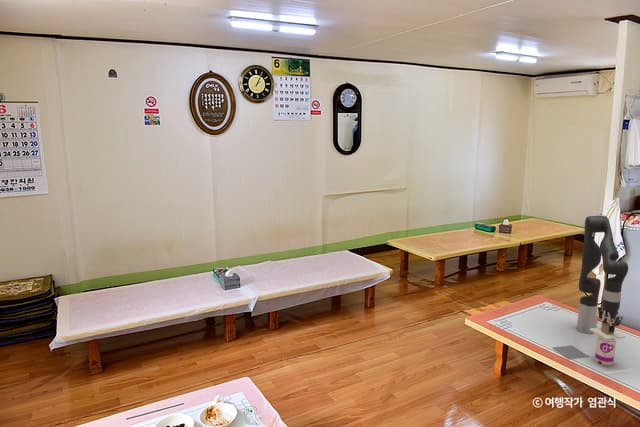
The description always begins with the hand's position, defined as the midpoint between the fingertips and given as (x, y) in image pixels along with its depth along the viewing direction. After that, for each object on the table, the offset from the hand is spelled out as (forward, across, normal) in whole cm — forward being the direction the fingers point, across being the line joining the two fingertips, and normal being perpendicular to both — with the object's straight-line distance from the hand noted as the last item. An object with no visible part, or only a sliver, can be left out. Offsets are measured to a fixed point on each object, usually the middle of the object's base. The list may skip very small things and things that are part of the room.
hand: (607, 330), depth 229 cm
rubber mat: (+19, +12, +10) cm, 24 cm away
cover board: (+2, 0, 0) cm, 2 cm away
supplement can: (+19, 0, 0) cm, 19 cm away
